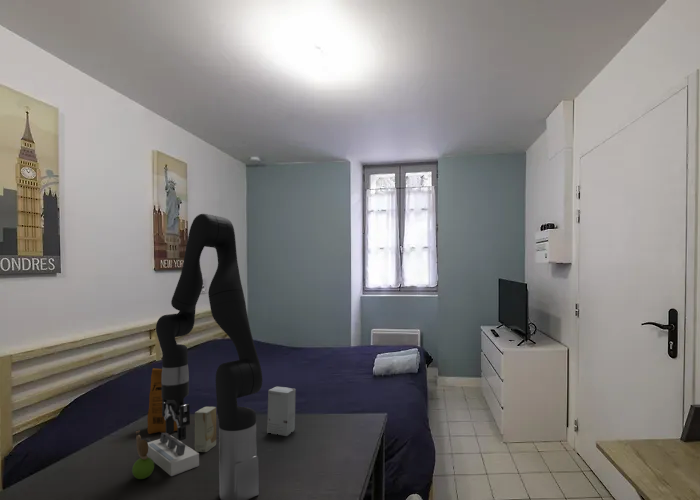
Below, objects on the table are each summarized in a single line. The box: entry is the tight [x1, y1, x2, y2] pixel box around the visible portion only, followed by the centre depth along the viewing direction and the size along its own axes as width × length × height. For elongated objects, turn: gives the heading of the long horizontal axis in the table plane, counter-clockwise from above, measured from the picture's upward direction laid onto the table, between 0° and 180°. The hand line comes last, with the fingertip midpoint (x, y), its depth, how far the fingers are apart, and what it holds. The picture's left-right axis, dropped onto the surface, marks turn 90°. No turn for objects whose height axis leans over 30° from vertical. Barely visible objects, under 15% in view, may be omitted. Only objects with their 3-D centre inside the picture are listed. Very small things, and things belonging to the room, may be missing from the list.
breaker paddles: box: [159, 432, 186, 454], centre depth 122 cm, size 14×2×2 cm, turn 46°
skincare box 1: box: [194, 406, 217, 453], centre depth 130 cm, size 6×4×12 cm
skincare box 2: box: [266, 386, 297, 437], centre depth 142 cm, size 8×6×15 cm
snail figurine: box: [131, 429, 155, 480], centre depth 112 cm, size 5×6×12 cm
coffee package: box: [147, 367, 180, 435], centre depth 148 cm, size 10×12×22 cm
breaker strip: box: [144, 435, 200, 477], centre depth 126 cm, size 31×8×4 cm, turn 46°
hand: (175, 435), depth 120 cm, fingers open, 8 cm apart
